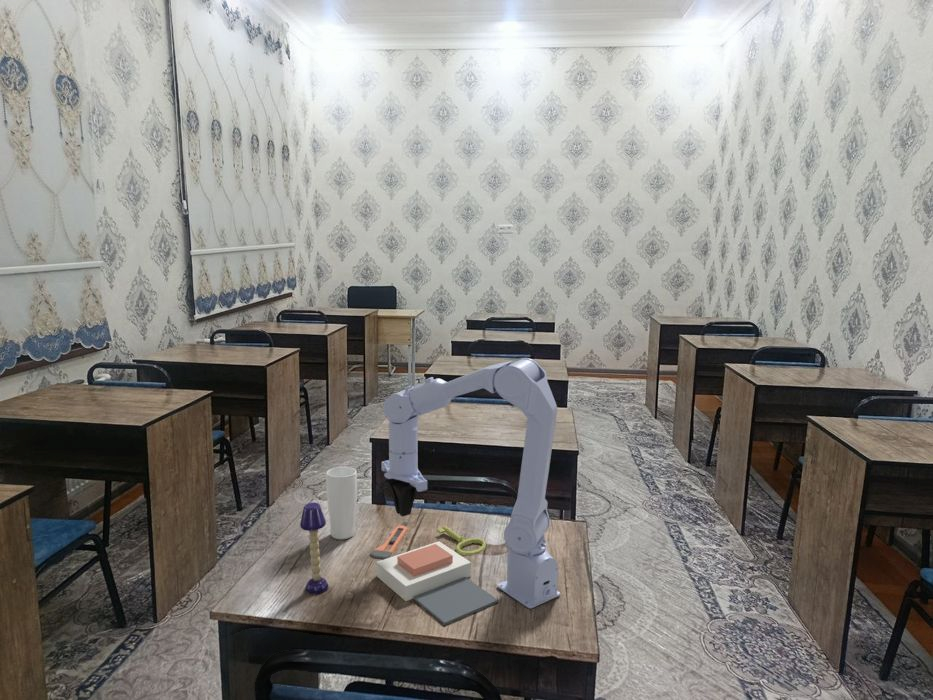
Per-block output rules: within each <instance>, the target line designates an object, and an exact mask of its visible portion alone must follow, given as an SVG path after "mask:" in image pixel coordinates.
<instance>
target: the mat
mask: <svg viewBox="0 0 933 700" xmlns="http://www.w3.org/2000/svg"><path fill="white" fill-rule="evenodd" d="M412 600H413V601H415V602H416V603H417V604H418V605H420V607H422V609H425V610H426V611H427V612H428V613H429V614H431V616H433V617H434V619H436V620H437V621H438V622H440V623H441V624H442V625H443V626H446V625H449V624H451V623H453V622H456V621H458V620H460V619H463V618H465V617H468V616H470V615H472V614H475V613H477V612H480V611H482V610H484V609H486V608H489V607H491V606H493V605H495V604H497V603H499V599H497V598H496V597H495V596H493V595H492V594H491V593H489V592H488V591H486V590H485V589H483V588H482V587H480V586H479V585H477V584H476V583H475V582H473V581H472V580H470V579H469V577H468V578H466V577H464V578H461V579H458V580H456V581H453V582H451V583H448V584H445V585H443V586H440V587H438V588H435V589H432V590H430V591H427V592H425V593H422V594H419V595H417V596H414V597H413V599H412Z"/></svg>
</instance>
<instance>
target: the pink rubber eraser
mask: <svg viewBox="0 0 933 700" xmlns="http://www.w3.org/2000/svg"><path fill="white" fill-rule="evenodd" d="M450 563H453V555H451V554H450V553H448V552H447V551H445V550H444V549H442V548H441V547H439V546H438V545H436V544H434V545H431V546H428V547H425V548H422V549H419V550H416V551H413V552H410V553H407V554H404V555H401V556H398V557H397V564H398V565H400V566H401V567H402V568H404V569H405V570H406V571H407V572H409V573H410V574H411V575H412V576H417V575H420V574H423V573H425V572H428V571H431V570H434V569H437V568H439V567H442V566H445V565H448V564H450Z"/></svg>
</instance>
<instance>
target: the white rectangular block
mask: <svg viewBox="0 0 933 700" xmlns="http://www.w3.org/2000/svg"><path fill="white" fill-rule="evenodd" d="M434 544H436V545H438V546H439V547H441V548H442V549H444V550H445V551H447V552H448V553H450V554H451V555H453V563H450V564H448V565H445V566H442V567H439V568H437V569H434V570H431V571H428V572H425V573H423V574H420V575H417V576H412V575H411V574H410V573H409V572H407V571H406V570H405V569H404V568H402V567H401V566H400V565H398V564H397V557H398V556H401V555H404V554H407V553H410V552H413V551H416V550H419V549H422V548H425V547H428V546H431V545H434ZM375 563H376V569H375V570H376V577H377V579H379V580H381V582H383V583H384V584H385V585H386V587H389V588H390V589H391V590H392V591H393V592H395V594H397V595H398V596H399V597H401V599H403V600H404V601H405V602H407V601H411V600H414V599H413V597H414V596H417V595H419V594H422V593H425V592H427V591H430V590H432V589H435V588H438V587H440V586H443V585H445V584H448V583H451V582H453V581H456V580H458V579H461V578H464V577H466V578H468V579H469V578H470V577H471V576H472V573H471V572H472V562H471V561H470V560H468V559H466V558H465V557H464V556H463V555H460V554H458V553H457V552H456V550H455V551H454V549H452V548H450V547H448V546H447V545H446V544H444V543H443V542H441V541H436V542H432V543H430V544H427V545H423V546H420V547H418V548H415V549H412V550H409V551H406V552H403V553H399V554H396V555H394V556H390V558H387V559H380V560H378V561H376V562H375Z"/></svg>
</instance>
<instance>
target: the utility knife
mask: <svg viewBox="0 0 933 700" xmlns="http://www.w3.org/2000/svg"><path fill="white" fill-rule="evenodd" d="M407 526H408V522H406V521H403V522H402V524H401V525H397V526H396V527H395V528H394V529H393V530H392V531H391V533H390V534H389V535H390V536H389V537H388V538H387V540H386V541H385V542H384V543H383V544H381V545H380V546H378V547H376V548H374V549H372V551H371V552H370V557H372V558H374V559H379V560H384V559H387V558H390V557H392V555H393V553H394V552H395V550H396V548H398V547H397V546H399V544H400V542H401V541H402V539H403V538H404V536H405V535H406V533H407V531H408V530H409V527H407ZM389 544H392V545H391V547H390V549H389V550H386V549H387V548H388V546H389Z"/></svg>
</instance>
